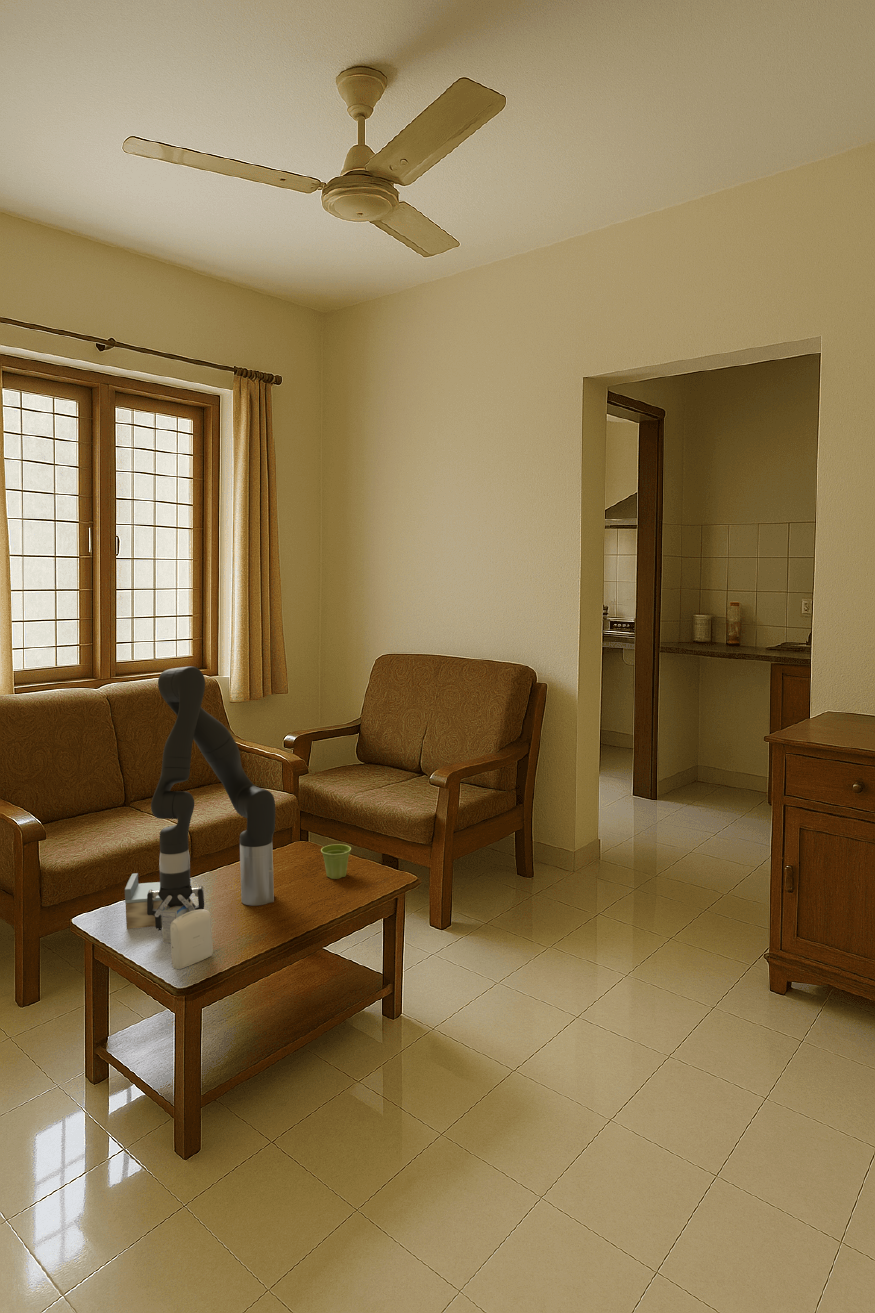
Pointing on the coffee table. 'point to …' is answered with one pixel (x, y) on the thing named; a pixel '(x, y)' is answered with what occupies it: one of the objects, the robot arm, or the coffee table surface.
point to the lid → (139, 890)
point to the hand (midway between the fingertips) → (176, 928)
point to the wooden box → (140, 915)
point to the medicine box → (170, 919)
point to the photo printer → (191, 938)
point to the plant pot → (336, 860)
